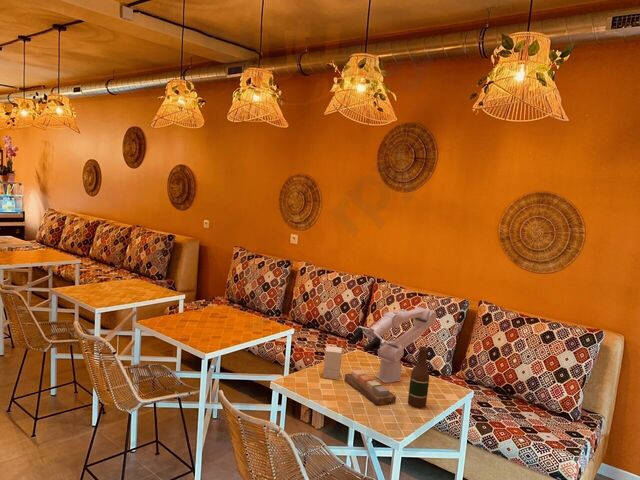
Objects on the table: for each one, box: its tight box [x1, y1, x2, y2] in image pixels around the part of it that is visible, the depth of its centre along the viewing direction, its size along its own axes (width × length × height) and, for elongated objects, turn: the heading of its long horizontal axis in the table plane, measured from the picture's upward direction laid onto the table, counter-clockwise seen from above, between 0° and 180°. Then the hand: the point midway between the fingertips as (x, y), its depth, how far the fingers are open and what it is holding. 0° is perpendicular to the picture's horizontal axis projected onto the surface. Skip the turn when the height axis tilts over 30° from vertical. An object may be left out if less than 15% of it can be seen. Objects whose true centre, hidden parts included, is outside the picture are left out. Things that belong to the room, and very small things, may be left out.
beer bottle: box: [407, 345, 430, 409], centre depth 196 cm, size 8×8×24 cm
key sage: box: [366, 380, 382, 391], centre depth 203 cm, size 4×4×2 cm
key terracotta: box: [359, 374, 374, 385], centre depth 208 cm, size 4×4×2 cm
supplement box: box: [322, 345, 343, 380], centre depth 218 cm, size 7×7×13 cm
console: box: [344, 372, 397, 407], centre depth 206 cm, size 9×26×3 cm, turn 27°
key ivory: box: [351, 369, 367, 379], centre depth 213 cm, size 4×4×2 cm
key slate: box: [374, 385, 390, 397], centre depth 197 cm, size 4×4×2 cm
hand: (358, 345), depth 205 cm, fingers open, 7 cm apart
